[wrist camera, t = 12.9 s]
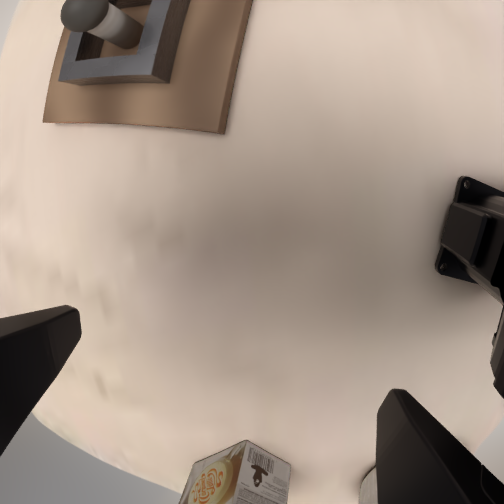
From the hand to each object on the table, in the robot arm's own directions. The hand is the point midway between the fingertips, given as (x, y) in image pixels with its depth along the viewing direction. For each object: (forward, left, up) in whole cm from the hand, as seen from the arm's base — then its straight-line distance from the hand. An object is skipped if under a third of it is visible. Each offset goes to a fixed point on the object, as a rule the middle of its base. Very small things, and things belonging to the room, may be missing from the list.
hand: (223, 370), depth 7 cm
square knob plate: (+11, -12, -12) cm, 20 cm away
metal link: (+11, -12, -10) cm, 19 cm away
